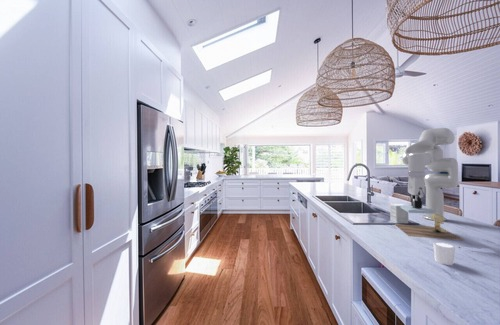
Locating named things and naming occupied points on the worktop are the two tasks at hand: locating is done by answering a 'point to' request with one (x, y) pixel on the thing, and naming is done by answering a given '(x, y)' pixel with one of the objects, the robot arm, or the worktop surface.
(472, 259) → the worktop surface
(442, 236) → the board
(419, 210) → the lid
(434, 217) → the key
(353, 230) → the worktop surface
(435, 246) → the shot glass
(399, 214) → the supplement box
